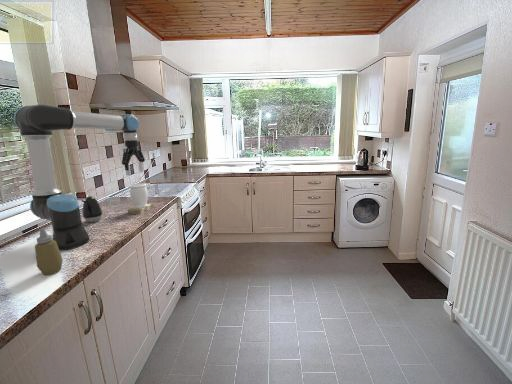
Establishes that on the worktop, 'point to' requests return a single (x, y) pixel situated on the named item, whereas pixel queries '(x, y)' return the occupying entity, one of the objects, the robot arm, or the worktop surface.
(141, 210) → the birch trivet
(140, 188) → the white cup
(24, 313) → the worktop surface
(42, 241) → the squeeze bottle
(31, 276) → the worktop surface
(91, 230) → the worktop surface
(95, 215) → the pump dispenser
